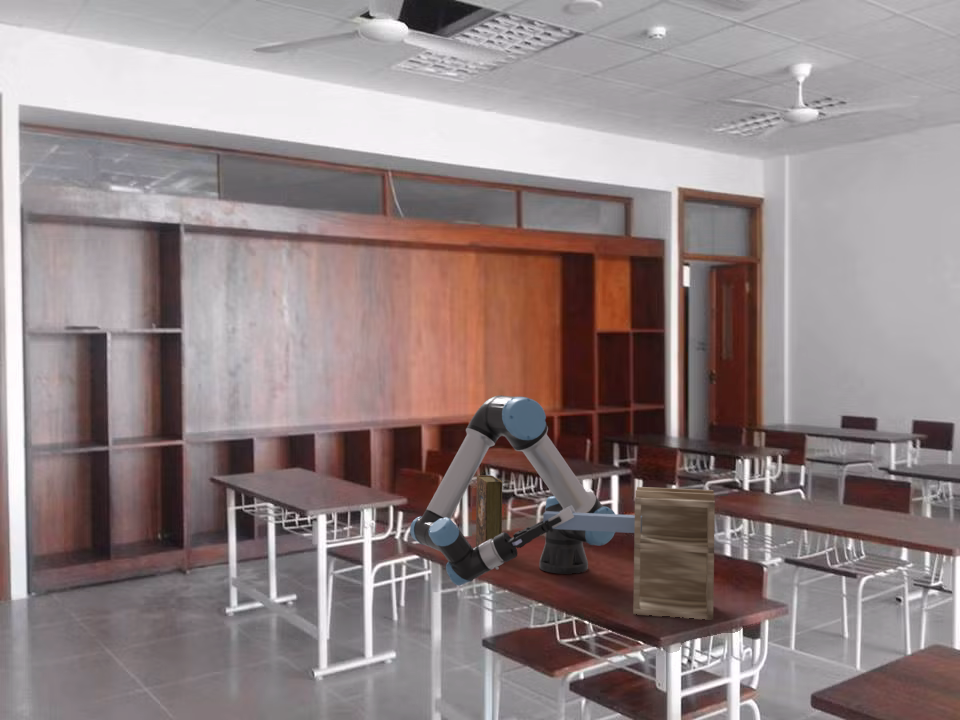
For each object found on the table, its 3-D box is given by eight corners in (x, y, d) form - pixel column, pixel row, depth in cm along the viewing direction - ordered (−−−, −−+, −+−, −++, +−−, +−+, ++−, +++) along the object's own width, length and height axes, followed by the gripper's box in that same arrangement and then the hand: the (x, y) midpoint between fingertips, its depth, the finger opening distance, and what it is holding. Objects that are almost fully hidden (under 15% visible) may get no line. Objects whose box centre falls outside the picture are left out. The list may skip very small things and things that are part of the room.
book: (475, 547, 311) (475, 475, 311) (490, 546, 312) (491, 475, 312) (485, 557, 295) (486, 481, 295) (501, 557, 296) (502, 481, 296)
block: (545, 525, 245) (545, 511, 245) (641, 530, 239) (642, 515, 239) (543, 528, 241) (543, 513, 241) (641, 533, 235) (641, 518, 235)
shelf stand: (636, 600, 245) (637, 485, 245) (711, 605, 240) (713, 488, 240) (633, 614, 231) (635, 492, 231) (713, 620, 227) (714, 496, 227)
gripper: (511, 555, 254) (583, 518, 249) (499, 569, 237) (575, 529, 232) (499, 532, 254) (570, 494, 250) (485, 544, 238) (561, 503, 233)
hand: (572, 511), depth 241 cm, fingers closed on block, 4 cm apart
